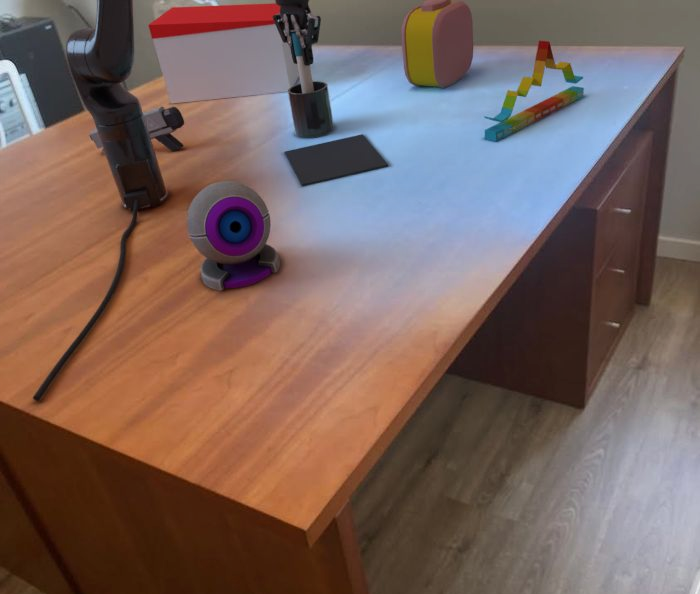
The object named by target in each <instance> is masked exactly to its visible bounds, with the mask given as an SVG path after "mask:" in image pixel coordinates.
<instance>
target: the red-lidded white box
mask: <svg viewBox="0 0 700 594" xmlns="http://www.w3.org/2000/svg"><path fill="white" fill-rule="evenodd" d="M279 13H280V6H279V5H277V4H276V2H275V3H274V2H273V3H250V4H249V3H248V4H224V5H223V4H222V5H197V6H196V5H195V6H172V7H171V8H170V9H167V10H166V12H164V13H162V14H161V15H160V16H158V17H157V18H155V19H154V20H153V21H152V22H150V23H149V24H148V25H147V26H148V29H149V33H150V36H151V39H152V41H153V45H154V49H155V52H156V55H157V59H158V62H159V67H160V70H161V74H162V77H163V81H164V84H165V88H166V91H167V96H168V99H169V102H170V104H171V105H172V104H181V103H182V104H183V103H193V102H200V101H201V102H203V101H210V100H211V101H212V100H220V99H221V100H222V99H229V98H240V97H250V96H259V95H260V96H261V95H269V94H278V93H288V89H289V88H291V87H292V86H294V85H296V84H297V81H298V80H299V78H300V76H299V70H298V64H294V63H293V59H292V55H291V49H290V46H289V45H288V43H286V42H285V43H284V42H283V41H282V39H281V36H280V34H279V32H278V29H277V27H276V25H275V22H274V20H273V15H276V14H279ZM284 33H285V30H284ZM285 36H287V35H286V34H285Z"/></svg>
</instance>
